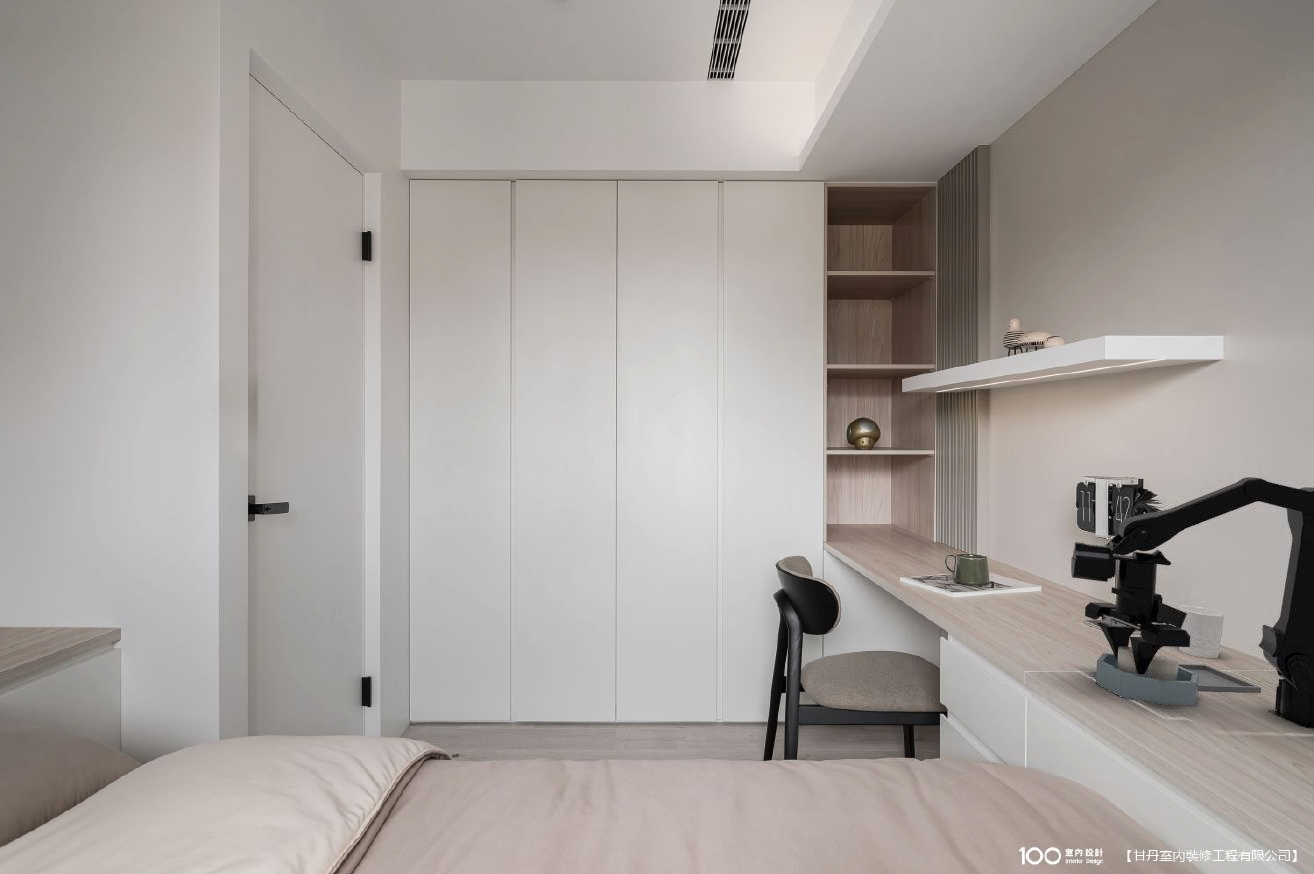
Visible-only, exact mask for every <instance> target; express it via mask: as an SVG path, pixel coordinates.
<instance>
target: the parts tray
mask: <svg viewBox="0 0 1314 874" xmlns="http://www.w3.org/2000/svg"><path fill="white" fill-rule="evenodd" d="M1178 666H1180V667H1182V668H1185V669H1187V670H1189V671H1192V672H1194V673H1196V674H1199V680H1198V692H1216V693H1218V692H1220V693H1224V692H1225V693H1253V694H1254V693H1255V694H1256V693H1259V694H1261V693H1262V687H1260V686H1258V685H1256V684H1253V683H1251V682H1248V681H1246V680H1243V679H1241V678H1238V677H1236V676H1234V675H1231V674H1229V673H1227V672H1224V671H1221V670H1219V669H1217V668H1214V667H1212V666H1210V665H1207V664H1199V663H1198V664H1197V663H1178Z"/></svg>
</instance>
